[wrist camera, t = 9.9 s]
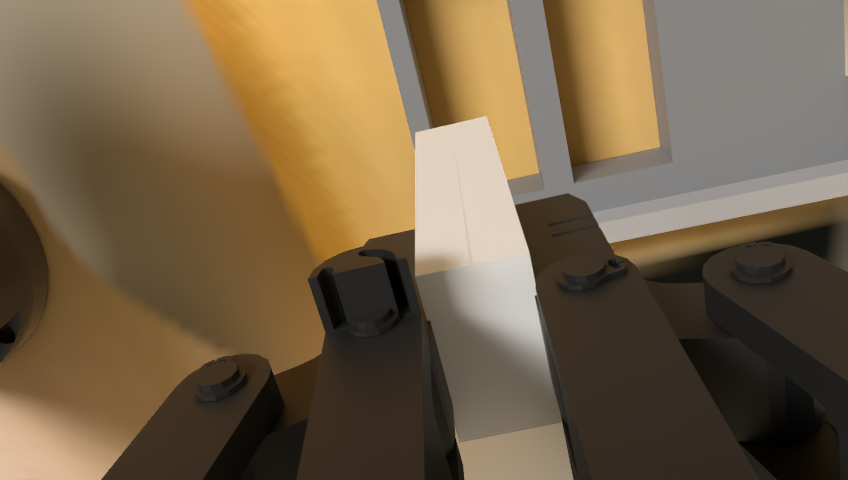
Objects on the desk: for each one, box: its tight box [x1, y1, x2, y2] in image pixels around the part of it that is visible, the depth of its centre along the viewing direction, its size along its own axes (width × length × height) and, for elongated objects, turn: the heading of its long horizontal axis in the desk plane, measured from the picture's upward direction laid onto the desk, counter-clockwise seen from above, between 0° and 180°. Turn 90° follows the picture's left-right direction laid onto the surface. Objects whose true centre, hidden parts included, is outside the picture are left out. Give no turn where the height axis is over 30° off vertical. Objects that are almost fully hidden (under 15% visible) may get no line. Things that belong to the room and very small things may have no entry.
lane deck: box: [377, 0, 848, 243], centre depth 36 cm, size 32×18×6 cm, turn 103°
